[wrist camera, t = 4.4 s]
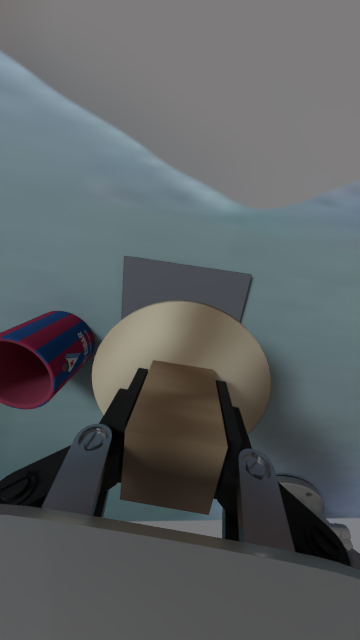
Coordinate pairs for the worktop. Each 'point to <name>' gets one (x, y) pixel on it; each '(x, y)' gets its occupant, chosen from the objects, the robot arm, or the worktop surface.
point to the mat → (181, 285)
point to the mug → (41, 358)
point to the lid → (179, 397)
